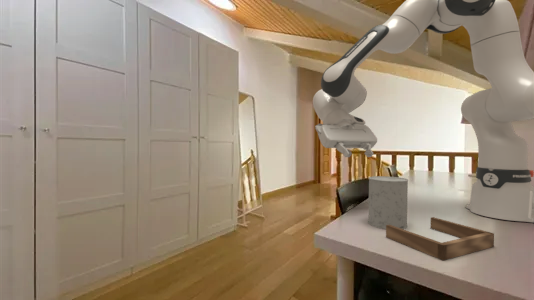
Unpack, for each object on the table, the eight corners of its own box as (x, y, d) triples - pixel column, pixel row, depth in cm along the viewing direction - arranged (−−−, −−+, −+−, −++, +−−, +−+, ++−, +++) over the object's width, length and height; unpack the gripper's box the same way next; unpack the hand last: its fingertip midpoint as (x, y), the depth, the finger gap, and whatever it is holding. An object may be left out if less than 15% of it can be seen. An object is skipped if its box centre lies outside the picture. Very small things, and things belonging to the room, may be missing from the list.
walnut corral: (433, 227, 67) (433, 217, 66) (493, 246, 55) (494, 233, 55) (385, 237, 60) (386, 225, 60) (443, 260, 48) (443, 245, 48)
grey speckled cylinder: (412, 231, 64) (413, 181, 64) (371, 228, 66) (372, 180, 66) (401, 220, 73) (401, 176, 73) (365, 218, 75) (365, 175, 75)
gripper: (317, 116, 81) (337, 148, 72) (367, 119, 89) (390, 148, 81) (309, 131, 85) (327, 163, 76) (357, 132, 93) (378, 162, 85)
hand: (359, 155), depth 79 cm, fingers open, 7 cm apart
